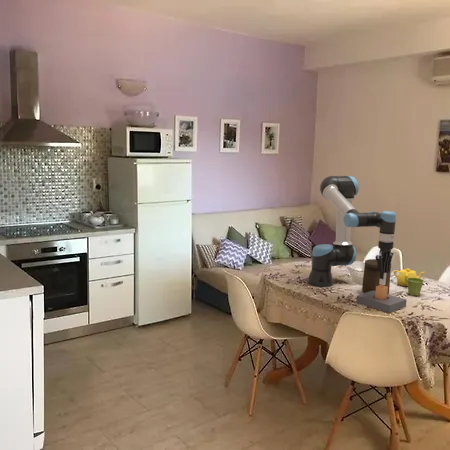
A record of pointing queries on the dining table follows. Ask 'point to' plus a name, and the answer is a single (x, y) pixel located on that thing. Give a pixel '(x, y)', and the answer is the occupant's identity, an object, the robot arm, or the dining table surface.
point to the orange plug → (381, 292)
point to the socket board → (381, 302)
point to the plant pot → (414, 286)
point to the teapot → (406, 276)
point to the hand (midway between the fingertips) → (382, 284)
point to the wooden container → (373, 276)
